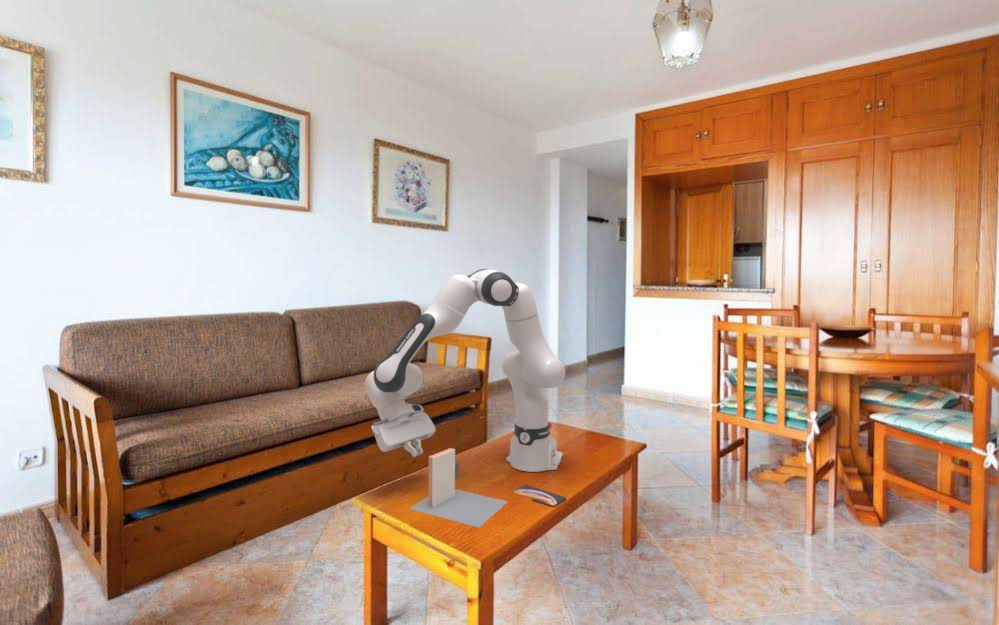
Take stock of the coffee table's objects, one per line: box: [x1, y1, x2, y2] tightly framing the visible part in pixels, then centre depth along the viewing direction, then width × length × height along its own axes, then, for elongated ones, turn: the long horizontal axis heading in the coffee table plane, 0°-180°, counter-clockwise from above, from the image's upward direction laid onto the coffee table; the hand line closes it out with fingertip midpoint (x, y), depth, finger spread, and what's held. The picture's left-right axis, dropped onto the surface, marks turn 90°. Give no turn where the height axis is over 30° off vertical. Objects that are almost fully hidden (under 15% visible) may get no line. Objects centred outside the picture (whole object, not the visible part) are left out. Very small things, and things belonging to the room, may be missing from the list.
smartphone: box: [513, 484, 567, 508], centre depth 147 cm, size 8×1×15 cm
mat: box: [409, 488, 508, 528], centre depth 140 cm, size 17×22×1 cm
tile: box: [427, 447, 456, 507], centre depth 142 cm, size 2×9×14 cm, turn 143°
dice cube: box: [455, 460, 460, 478], centre depth 160 cm, size 5×5×5 cm
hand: (418, 454), depth 147 cm, fingers closed
